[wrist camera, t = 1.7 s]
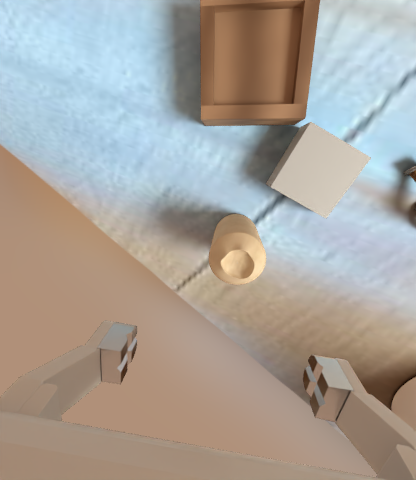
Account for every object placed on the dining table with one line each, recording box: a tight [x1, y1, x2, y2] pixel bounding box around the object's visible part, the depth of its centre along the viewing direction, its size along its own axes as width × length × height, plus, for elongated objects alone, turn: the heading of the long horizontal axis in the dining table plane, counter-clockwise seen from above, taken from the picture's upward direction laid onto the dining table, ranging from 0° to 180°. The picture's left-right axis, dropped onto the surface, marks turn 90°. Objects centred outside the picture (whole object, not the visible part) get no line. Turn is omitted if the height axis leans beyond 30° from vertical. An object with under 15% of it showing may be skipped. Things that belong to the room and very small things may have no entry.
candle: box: [209, 214, 266, 285], centre depth 25 cm, size 6×6×10 cm
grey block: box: [266, 122, 371, 218], centre depth 25 cm, size 7×7×4 cm
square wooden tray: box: [200, 0, 320, 126], centre depth 22 cm, size 10×10×4 cm
